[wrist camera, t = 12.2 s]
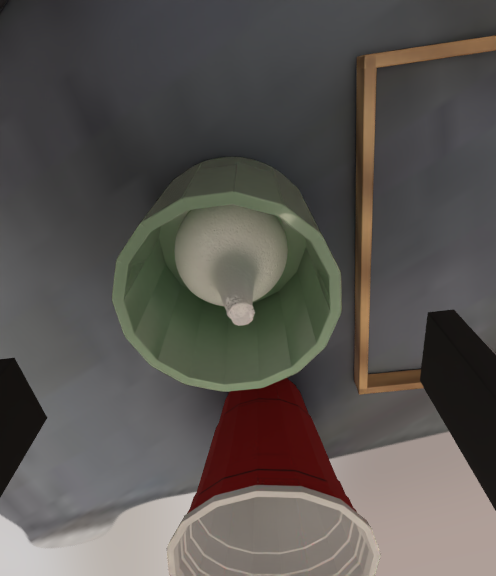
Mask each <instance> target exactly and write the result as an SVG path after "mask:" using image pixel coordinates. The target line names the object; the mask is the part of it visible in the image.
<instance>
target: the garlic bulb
mask: <svg viewBox="0 0 496 576" xmlns="http://www.w3.org/2000/svg"><path fill="white" fill-rule="evenodd" d="M174 253H175V262H176V267H177V270H178V272H179V275H180V277H181V278H182V280H183V282H184V283H185V285H186V286H187V287H188V289H189V290H190V291H191V292H192V293H193V294H195V295H196V296H197V297H199V298H201V299H203V300H204V301H207V302H209V303H211V304H215V305H219V306H224V307H225V309H226V311H227V312H226V313H227V316H228V317H229V318H230V319H232V322H233V323H234V324H235V325H238V326H241V325H242V326H243V325H247V324H249V323H250V322H252V320H253V317H254V314H255V312H254V311H255V310H254V309H253V308H254V307H253V306H252V305H253V301H256V300H257V299H259V298H261V297H262V296H264V295H265V294H266V293H268V292H269V291H270V290H271V289H272V288H273V287H274V286H275V284H276V283H277V282H278V280H279V279H280V277H281V275H282V273H283V271H284V268H285V265H286V261H287V254H288V246H287V239H286V235H285V231H284V229H283V227H282V225H281V223H280V222H279V220H278V218H277V217H276V216H275V215H271V214H267V213H263V212H259V211H256V210H252V209H248V208H244V207H240V206H237V205H226V206H218V207H210V208H202V209H195V210H191V211H190V212H189V213H188V215H187V216H186V217H185V219H184V220H183V222H182V224H181V225H180V227H179V230H178V233H177V236H176V240H175V249H174ZM252 309H253V310H252Z"/></svg>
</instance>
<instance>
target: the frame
mask: <svg viewBox="0 0 496 576" xmlns="http://www.w3.org/2000/svg"><path fill="white" fill-rule="evenodd" d="M489 51H496V35H494V36H488V37H481V38H474V39H467V40H461V41H454V42H447V43H441V44H434V45H427V46H421V47H414V48H407V49H400V50H394V51H387V52H380V53H374V54H367V55H362V56H358V57H357V98H356V229H355V360H354V382H355V385H356V387H357V390H358V393H359V394H369V393H379V392H389V391H399V390H410V389H420V388H424V387H423V385H422V384H421V382H420V375H421V369H417V370H407V371H398V372H388V373H378V374H368V344H369V310H370V276H371V243H372V209H373V175H374V141H375V107H376V73H377V68H380V67H387V66H394V65H400V64H407V63H414V62H421V61H428V60H434V59H441V58H448V57H455V56H462V55H468V54H475V53H482V52H489Z"/></svg>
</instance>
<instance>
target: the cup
mask: <svg viewBox="0 0 496 576" xmlns="http://www.w3.org/2000/svg"><path fill="white" fill-rule="evenodd" d="M226 205H237V206H240V207H244V208H248V209H252V210H256V211H259V212H263V213H267V214H271V215H275V216H276V217H277V218H278V220H279V222H280V223H281V225H282V227H283V229H284V231H285V235H286V239H287V246H288V254H287V261H286V265H285V268H284V271H283V273H282V275H281V277H280V279H279V280H278V282H277V283H276V284H275V286H274V287H273V288H272V289H271V290H270V291H269V292H268V293H266V294H265V295H264V296H262V297H261V298H259V299H257V300H256V301H253V305H252V306H253V307H254V308H253V309H254V310H255V311H254V312H255V314H254V317H253V320H252V322H250V323H249V324H247V325H243V326H242V325H241V326H238V325H235V324H234V323H233V322H232V319H230V318H229V317H228V316H227V313H226V312H227V311H226V309H225V307H224V306H219V305H215V304H211V303H209V302H207V301H204V300H203V299H201V298H199V297H197V296H196V295H195V294H193V293H192V292H191V291H190V290H189V289H188V287H187V286H186V285H185V283H184V282H183V280H182V278H181V277H180V275H179V272H178V270H177V267H176V262H175V253H174V249H175V240H176V236H177V233H178V230H179V227H180V225H181V224H182V222H183V220H184V219H185V217H186V216H187V215H188V213H189V212H190V211H191V210H195V209H202V208H210V207H218V206H226ZM112 302H113V305H114V308H115V311H116V313H117V316H118V319H119V322H120V325H121V328H122V331H123V333H124V336H125V338H126V339H127V340H128V341H129V342H130V343H131V344H132V345H133V347H134V348H135V349H136V350H137V351H138V352H139V353H140V354H141V355H142V357H143V358H144V359H145V360H146V361H147V362H148V363H149V364H150V365H151V366H152V367H154V368H156V369H157V370H159V371H161V372H163V373H165V374H167V375H169V376H170V377H172V378H174V379H176V380H178V381H180V382H181V383H183V384H186V385H190V386H196V387H201V388H206V389H211V390H216V391H221V392H223V391H224V392H229V391H239V390H248V389H258V388H262V387H263V388H264V387H266V386H269V385H271V384H273V383H275V382H278V381H280V380H282V379H285V378H287V377H289V376H292V375H294V374H296V373H297V372H299V371H300V370H301V369H303V368H304V367H305V366H306V365H307V364H308V363H309V362H310V361H311V360H312V359H313V358H314V357H315V356H317V355H318V354H319V353H320V352H321V351H322V350H323V349H324V348H325V347H326V345H327V343H328V341H329V339H330V336H331V334H332V332H333V330H334V328H335V326H336V323H337V321H338V319H339V317H340V315H341V311H342V301H341V271H340V269H339V267H338V265H337V263H336V261H335V259H334V257H333V255H332V254H331V252H330V250H329V248H328V246H327V244H326V242H325V240H324V238H323V236H322V234H321V232H320V230H319V228H318V226H317V224H316V222H315V220H314V218H313V216H312V214H311V212H310V210H309V208H308V206H307V204H306V202H305V200H304V198H303V197H302V195H301V193H300V191H299V189H298V188H297V187H296V186H295V185H294V184H293V183H292V182H291V181H290V180H289V179H288V178H287V177H286V176H284V175H283V174H282V173H280V172H279V171H277V170H276V169H275V168H273V167H271V166H269V165H267V164H265V163H262V162H259V161H256V160H253V159H248V158H243V157H220V158H215V159H211V160H207V161H204V162H201V163H199V164H197V165H195V166H193V167H191V168H189V169H188V170H186V171H185V172H184V173H182V174H181V175H180V176H178V177H177V178H175V179H174V180H173V181H172V182H171V183H170V185H169V186H168V187H167V188H166V190H165V191H164V192H163V194H162V195H161V196H160V198H159V199H158V200H157V202H156V203H155V204H154V206H153V207H152V208H151V209H150V211H149V212H148V213H147V215H146V216H145V217H144V219H143V220H142V221H141V223H140V224H139V225H138V227H137V228H136V230H135V232H134V233H133V235H132V236H131V238H130V239H129V241H128V242H127V244H126V245H125V247H124V248H123V250H122V251H121V253H120V254H119V256H118V257H117V260H116V265H115V274H114V283H113V292H112ZM253 309H252V310H253Z"/></svg>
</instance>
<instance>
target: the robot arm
mask: <svg viewBox="0 0 496 576" xmlns="http://www.w3.org/2000/svg"><path fill="white" fill-rule="evenodd" d="M6 2H7V0H0V11H1V9H2V8H3V7H4V5H5V3H6ZM420 382H421V384H422V385H423V387H424V389H425V390H426V392H427V394H428V396H429V397H430V399H431V401H432V402H433V404H434V406H435V408H436V409H437V411H438V413H439V414H440V416H441V418H442V420H443V421H444V423H445V425H446V426H447V428H448V430H449V432H450V433H451V435H452V437H453V438H454V440H455V442H456V444H457V445H458V447H459V449H460V450H461V452H462V454H463V455H464V457H465V459H466V460H467V462H468V464H469V466H470V467H471V469H472V471H473V473H474V474H475V476H476V477H477V479H478V481H479V483H480V484H481V486H482V488H483V490H484V491H485V493H486V495H487V497H488V498H489V500H490V502H491V503H492V505H493V507H494V508H495V510H496V355H495V354H494V353H493V352H492V351H491V350H490V349H489V347H488V346H487V345H486V344H485V343H484V342H483V341H482V340H481V339H480V338H479V337H478V335H477V334H476V333H475V332H474V331H473V330H472V329H471V328H470V327H469V326H468V325H467V323H466V322H465V321H464V320H463V319H462V318H461V317H460V316H459V315H458V314H457V313H456V311H455V310H446V311H437V312H428V317H427V325H426V333H425V341H424V350H423V358H422V366H421V375H420ZM46 419H47V417H46V415H45V413H44V411H43V409H42V407H41V406H40V404H39V402H38V400H37V398H36V397H35V395H34V393H33V391H32V389H31V387H30V386H29V384H28V382H27V380H26V378H25V376H24V375H23V373H22V371H21V369H20V367H19V365H18V364H17V362H16V360H15V358H9V359H0V497H1V495H2V494H3V492H4V490H5V488H6V487H7V485H8V483H9V482H10V480H11V478H12V477H13V475H14V473H15V472H16V470H17V468H18V466H19V465H20V463H21V461H22V460H23V458H24V456H25V455H26V453H27V451H28V449H29V448H30V446H31V444H32V443H33V441H34V439H35V438H36V436H37V434H38V433H39V431H40V429H41V427H42V426H43V424H44V422H45V421H46Z"/></svg>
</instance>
